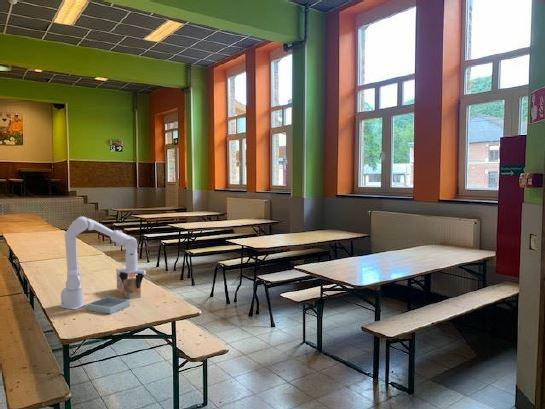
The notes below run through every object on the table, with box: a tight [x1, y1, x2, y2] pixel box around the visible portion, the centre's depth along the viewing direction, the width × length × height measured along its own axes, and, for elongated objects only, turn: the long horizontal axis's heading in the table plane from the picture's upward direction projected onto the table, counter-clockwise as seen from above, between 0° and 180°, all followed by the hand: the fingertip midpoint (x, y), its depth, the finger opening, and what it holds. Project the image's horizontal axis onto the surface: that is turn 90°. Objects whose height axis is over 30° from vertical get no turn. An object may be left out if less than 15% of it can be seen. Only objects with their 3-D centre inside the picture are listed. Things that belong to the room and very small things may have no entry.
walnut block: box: [123, 277, 142, 293], centre depth 213 cm, size 6×6×6 cm
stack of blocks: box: [115, 266, 142, 300], centre depth 226 cm, size 21×6×12 cm, turn 37°
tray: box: [86, 296, 131, 315], centre depth 202 cm, size 14×13×3 cm
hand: (132, 287), depth 213 cm, fingers closed on walnut block, 6 cm apart
